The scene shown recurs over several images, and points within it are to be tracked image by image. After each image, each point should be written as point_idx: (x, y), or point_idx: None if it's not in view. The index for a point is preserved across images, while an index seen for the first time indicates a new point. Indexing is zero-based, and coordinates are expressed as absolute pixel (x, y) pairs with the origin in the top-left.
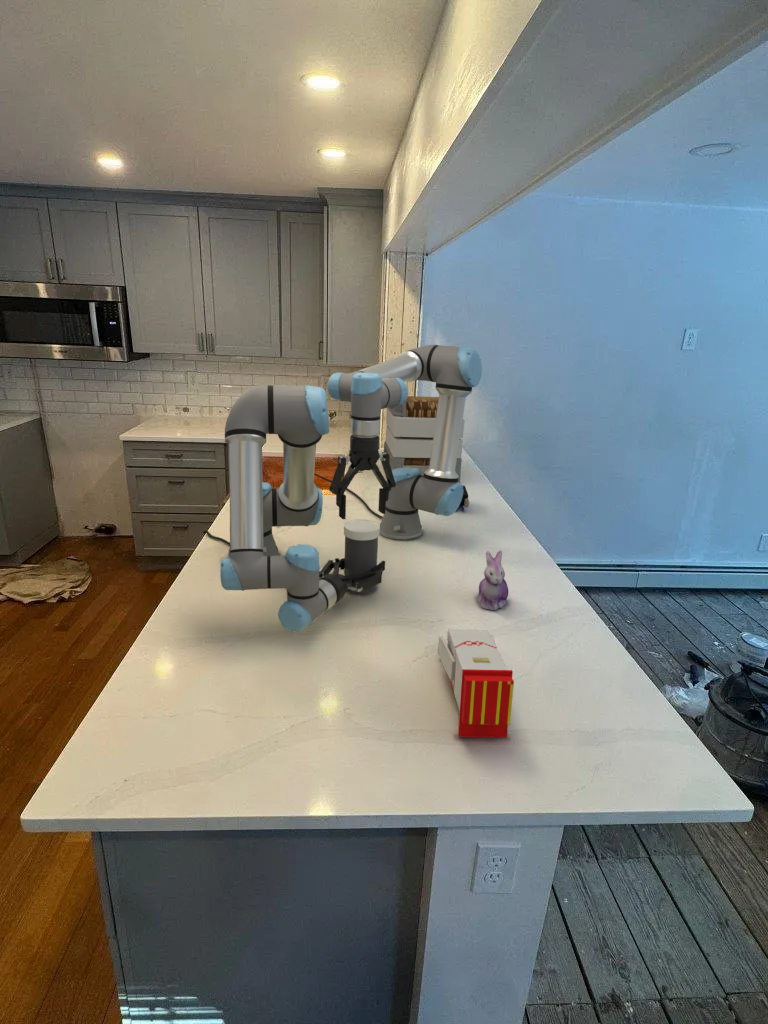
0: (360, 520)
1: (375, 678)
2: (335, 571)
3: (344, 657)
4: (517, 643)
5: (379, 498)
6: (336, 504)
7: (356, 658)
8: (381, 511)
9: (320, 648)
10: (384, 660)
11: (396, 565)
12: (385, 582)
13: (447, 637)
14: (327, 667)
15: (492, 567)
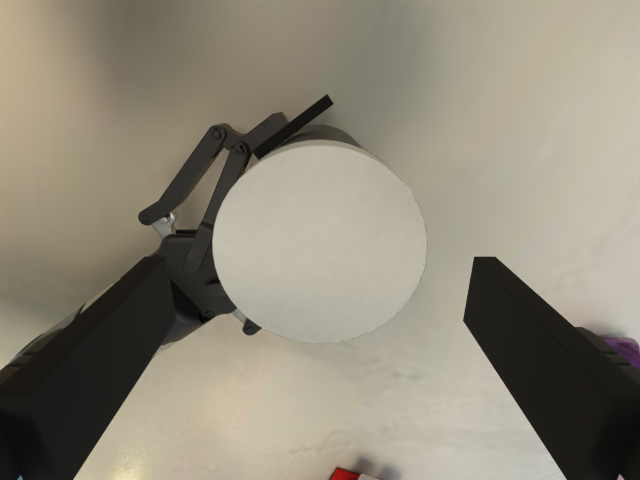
0: (351, 172)
1: (211, 463)
2: (202, 238)
3: (179, 409)
4: (487, 472)
5: (527, 327)
6: (47, 337)
7: (199, 417)
8: (470, 308)
9: (142, 374)
10: (244, 436)
11: (514, 69)
12: (406, 173)
13: (362, 477)
14: (142, 420)
15: (622, 478)
